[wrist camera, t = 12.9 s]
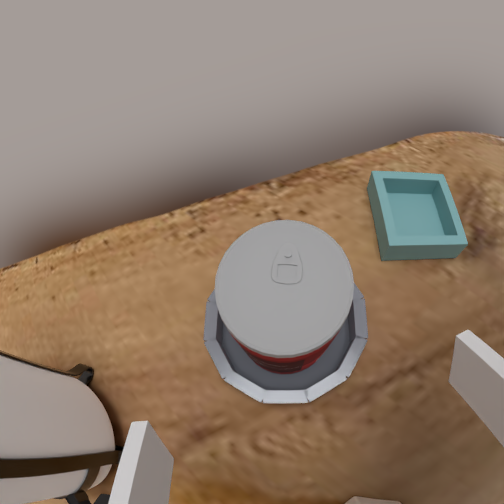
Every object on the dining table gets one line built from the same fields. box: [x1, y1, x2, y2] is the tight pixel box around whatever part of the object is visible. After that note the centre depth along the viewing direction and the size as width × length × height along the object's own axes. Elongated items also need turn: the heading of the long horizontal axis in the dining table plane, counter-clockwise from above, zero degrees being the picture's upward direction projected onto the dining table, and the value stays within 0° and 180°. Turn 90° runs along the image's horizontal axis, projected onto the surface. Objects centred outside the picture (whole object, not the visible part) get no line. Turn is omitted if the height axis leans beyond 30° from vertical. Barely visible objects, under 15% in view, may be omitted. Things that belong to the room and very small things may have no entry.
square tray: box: [367, 171, 468, 261], centre depth 29 cm, size 9×9×3 cm
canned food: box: [215, 220, 354, 374], centre depth 21 cm, size 8×8×11 cm
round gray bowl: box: [204, 283, 368, 403], centre depth 25 cm, size 13×13×3 cm
